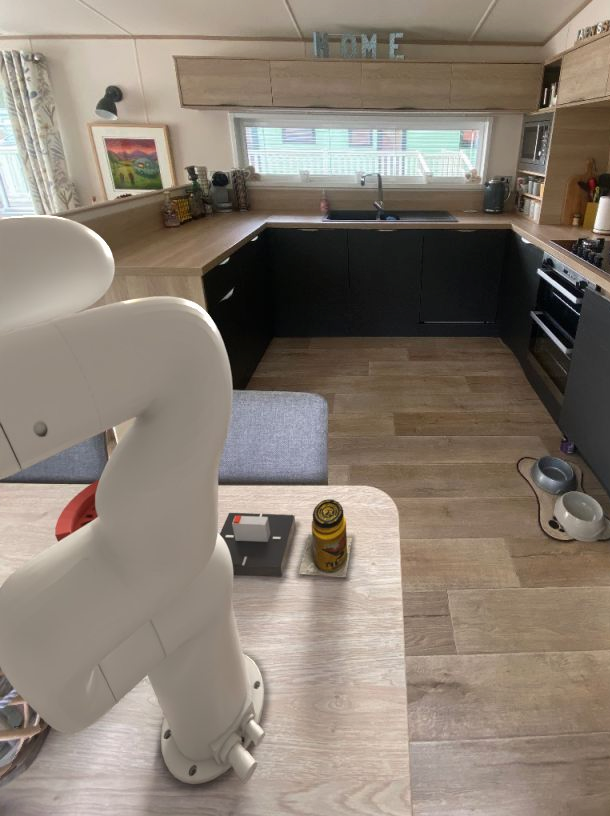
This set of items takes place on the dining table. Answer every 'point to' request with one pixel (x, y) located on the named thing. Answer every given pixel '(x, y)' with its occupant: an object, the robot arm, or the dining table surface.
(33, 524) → the dining table surface
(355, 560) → the dining table surface
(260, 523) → the tap handle
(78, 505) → the citrus juicer
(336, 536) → the condiment
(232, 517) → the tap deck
